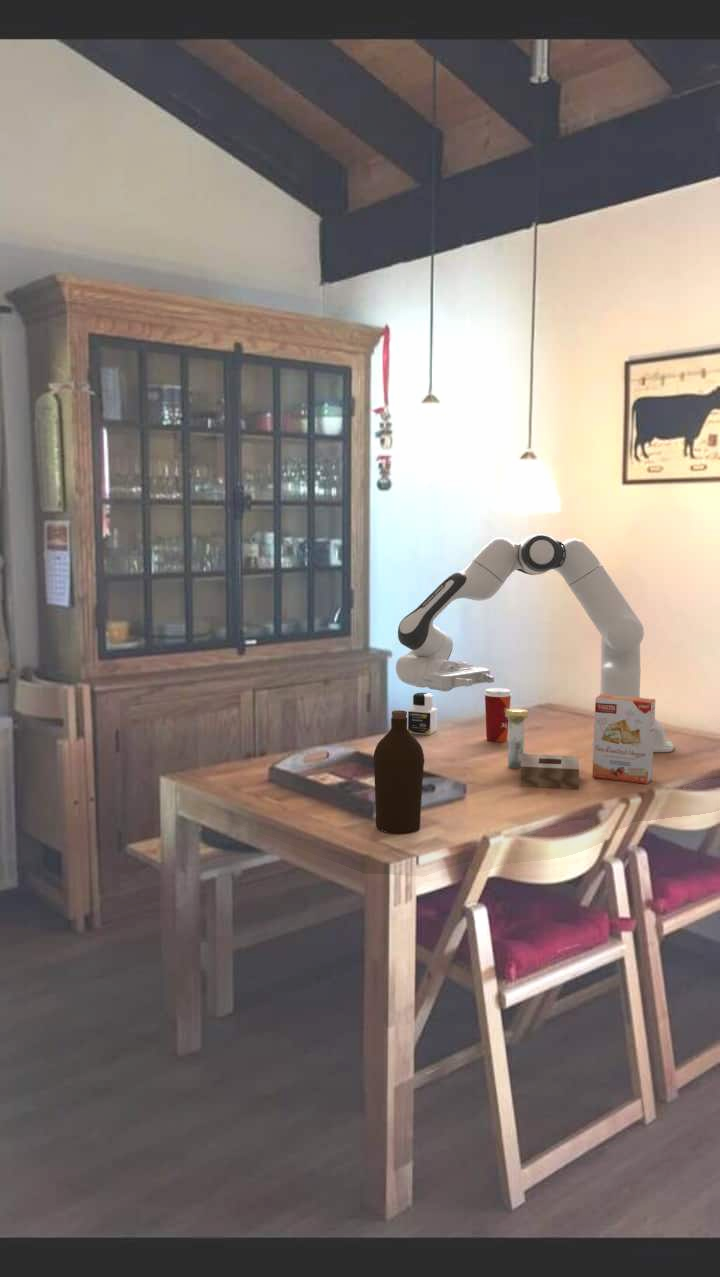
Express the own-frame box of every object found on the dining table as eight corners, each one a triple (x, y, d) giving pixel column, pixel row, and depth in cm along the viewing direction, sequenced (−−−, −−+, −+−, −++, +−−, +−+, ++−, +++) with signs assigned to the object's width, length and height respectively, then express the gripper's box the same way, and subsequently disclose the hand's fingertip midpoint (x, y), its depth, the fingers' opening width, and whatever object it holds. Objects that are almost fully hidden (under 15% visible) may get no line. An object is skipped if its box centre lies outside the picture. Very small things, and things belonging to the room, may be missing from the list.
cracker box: (591, 778, 264) (594, 696, 261) (597, 773, 269) (600, 693, 267) (647, 785, 257) (651, 701, 255) (652, 779, 263) (655, 698, 260)
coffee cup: (512, 742, 304) (513, 692, 303) (484, 742, 305) (485, 692, 303) (508, 736, 313) (510, 687, 311) (481, 736, 313) (482, 687, 311)
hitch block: (577, 775, 266) (578, 756, 266) (578, 789, 253) (579, 769, 252) (522, 772, 269) (522, 753, 268) (520, 786, 255) (520, 766, 255)
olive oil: (396, 838, 213) (398, 718, 210) (362, 826, 221) (363, 710, 218) (433, 828, 220) (435, 712, 217) (398, 817, 228) (400, 705, 225)
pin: (527, 764, 277) (528, 709, 276) (526, 770, 272) (528, 713, 270) (504, 763, 279) (506, 708, 277) (503, 768, 273) (504, 712, 271)
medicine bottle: (407, 733, 317) (408, 694, 315) (415, 728, 323) (415, 690, 322) (429, 735, 314) (430, 696, 313) (437, 730, 321) (437, 692, 319)
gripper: (418, 667, 284) (456, 673, 274) (466, 661, 298) (505, 666, 288) (417, 690, 284) (456, 697, 275) (466, 682, 299) (504, 688, 289)
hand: (481, 681), depth 281 cm, fingers open, 8 cm apart
